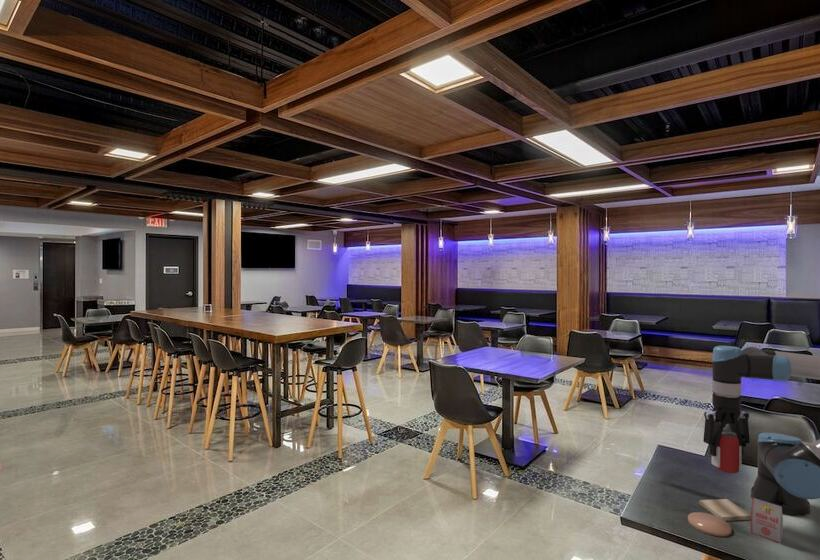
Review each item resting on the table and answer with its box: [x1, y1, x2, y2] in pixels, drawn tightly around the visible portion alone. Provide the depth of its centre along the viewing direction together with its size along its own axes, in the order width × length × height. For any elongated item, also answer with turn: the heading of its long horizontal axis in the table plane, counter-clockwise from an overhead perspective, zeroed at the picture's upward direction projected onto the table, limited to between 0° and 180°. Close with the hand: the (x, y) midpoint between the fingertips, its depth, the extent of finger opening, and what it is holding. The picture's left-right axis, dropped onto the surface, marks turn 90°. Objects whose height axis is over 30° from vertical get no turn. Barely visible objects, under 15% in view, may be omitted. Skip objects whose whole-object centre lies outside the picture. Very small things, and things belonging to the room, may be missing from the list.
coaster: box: [687, 511, 733, 537], centre depth 132 cm, size 11×11×1 cm
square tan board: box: [698, 498, 751, 522], centre depth 140 cm, size 10×10×1 cm
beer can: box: [713, 429, 740, 474], centre depth 140 cm, size 7×7×12 cm
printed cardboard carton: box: [750, 498, 784, 544], centre depth 127 cm, size 4×7×10 cm, turn 40°
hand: (726, 464), depth 140 cm, fingers closed on beer can, 6 cm apart
